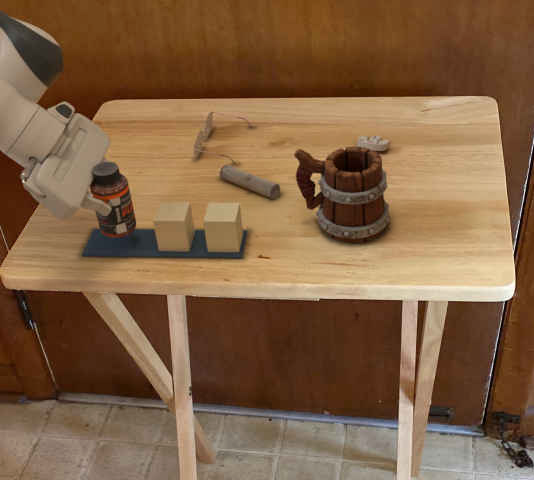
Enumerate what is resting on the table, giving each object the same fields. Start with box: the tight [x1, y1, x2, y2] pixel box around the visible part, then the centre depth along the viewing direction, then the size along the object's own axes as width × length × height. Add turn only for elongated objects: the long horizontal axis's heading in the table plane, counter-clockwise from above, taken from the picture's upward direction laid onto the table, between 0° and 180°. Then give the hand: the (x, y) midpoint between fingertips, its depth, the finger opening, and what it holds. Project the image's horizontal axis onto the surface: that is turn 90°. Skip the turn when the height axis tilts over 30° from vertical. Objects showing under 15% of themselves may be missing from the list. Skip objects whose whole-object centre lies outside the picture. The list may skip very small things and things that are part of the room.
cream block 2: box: [202, 202, 244, 252], centre depth 128 cm, size 5×5×6 cm
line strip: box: [81, 228, 249, 260], centre depth 132 cm, size 26×7×1 cm, turn 83°
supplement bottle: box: [89, 161, 137, 238], centre depth 127 cm, size 6×6×11 cm
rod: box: [219, 164, 281, 200], centre depth 141 cm, size 12×3×3 cm, turn 51°
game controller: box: [356, 134, 390, 152], centre depth 145 cm, size 6×12×3 cm, turn 173°
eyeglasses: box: [192, 110, 253, 165], centre depth 152 cm, size 14×8×4 cm, turn 168°
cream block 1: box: [152, 201, 196, 252], centre depth 129 cm, size 5×5×6 cm
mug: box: [293, 146, 390, 244], centre depth 128 cm, size 12×14×15 cm
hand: (115, 197), depth 127 cm, fingers closed on supplement bottle, 6 cm apart
